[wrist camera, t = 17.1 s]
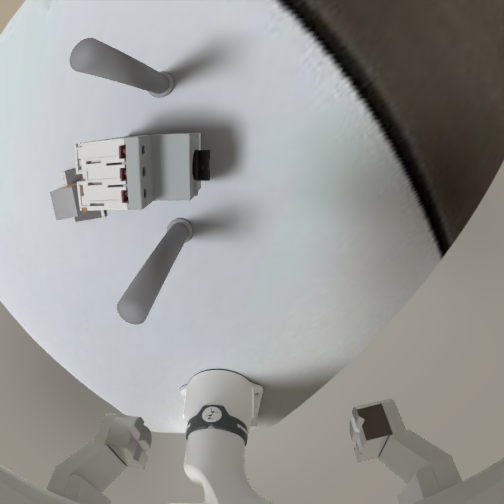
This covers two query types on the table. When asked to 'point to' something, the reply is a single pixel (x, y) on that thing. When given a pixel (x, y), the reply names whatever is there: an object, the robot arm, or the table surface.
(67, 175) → the mat
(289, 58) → the table surface
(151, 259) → the cord posts
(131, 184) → the circuit breaker
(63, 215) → the orange and grey block
